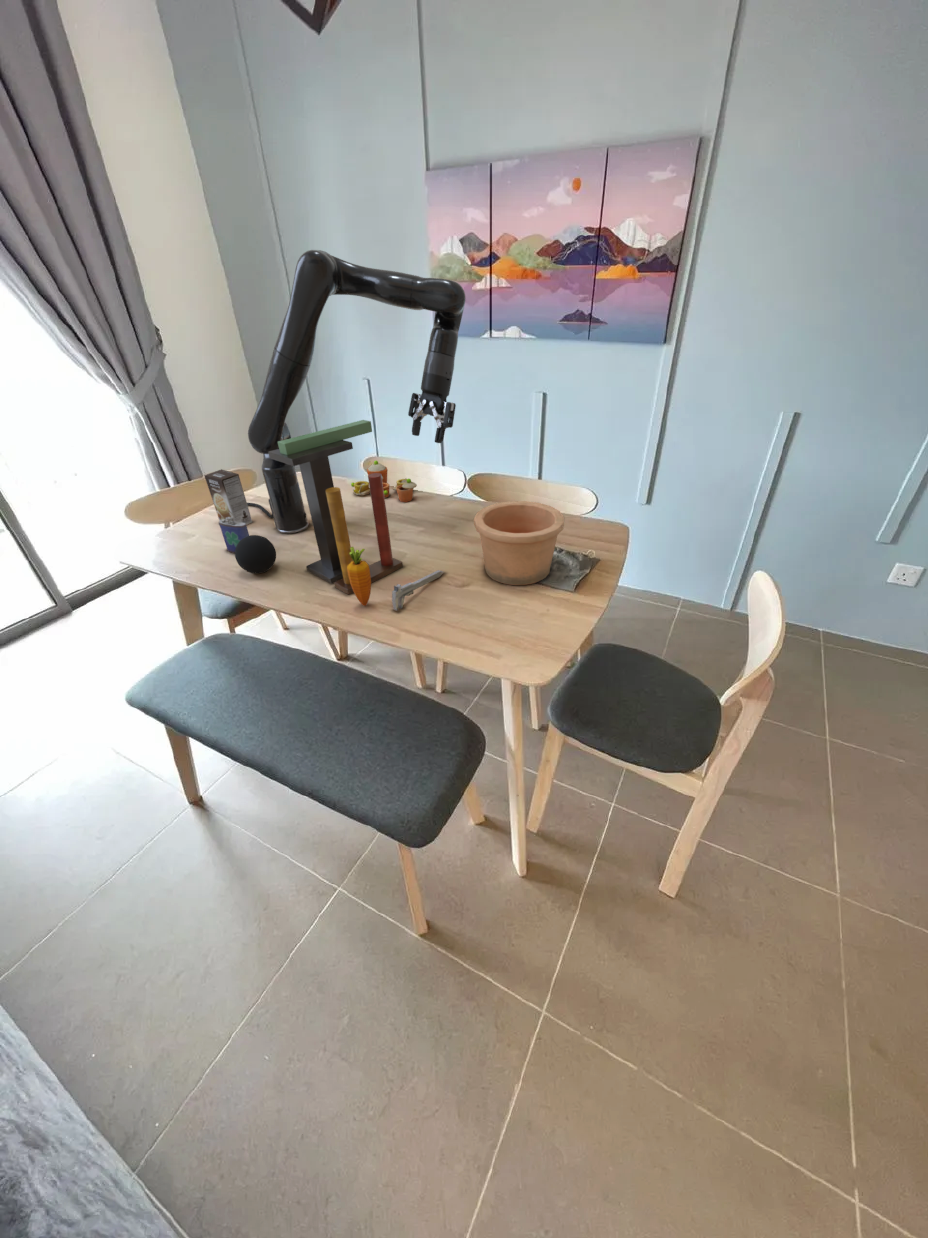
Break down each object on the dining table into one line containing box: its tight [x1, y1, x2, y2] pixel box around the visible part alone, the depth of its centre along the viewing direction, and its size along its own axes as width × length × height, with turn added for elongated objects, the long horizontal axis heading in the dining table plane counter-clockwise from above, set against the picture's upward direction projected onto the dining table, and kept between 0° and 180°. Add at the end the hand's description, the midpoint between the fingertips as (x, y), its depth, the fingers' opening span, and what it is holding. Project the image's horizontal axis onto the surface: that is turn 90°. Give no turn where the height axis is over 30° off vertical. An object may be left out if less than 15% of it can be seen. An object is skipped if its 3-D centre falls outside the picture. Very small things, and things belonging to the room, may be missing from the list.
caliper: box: [391, 569, 445, 612], centre depth 118 cm, size 20×1×6 cm, turn 150°
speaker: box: [234, 534, 277, 574], centre depth 129 cm, size 10×10×10 cm
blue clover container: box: [218, 516, 250, 554], centre depth 139 cm, size 9×3×11 cm, turn 68°
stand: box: [268, 439, 354, 585], centre depth 122 cm, size 16×11×32 cm
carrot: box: [347, 546, 372, 607], centre depth 112 cm, size 5×5×15 cm
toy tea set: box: [350, 460, 418, 503], centre depth 174 cm, size 26×16×10 cm, turn 63°
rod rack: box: [326, 473, 404, 595], centre depth 120 cm, size 18×6×25 cm, turn 138°
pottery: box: [473, 500, 565, 586], centre depth 123 cm, size 22×22×14 cm
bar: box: [278, 419, 373, 455], centre depth 115 cm, size 24×3×2 cm, turn 138°
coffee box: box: [204, 468, 253, 526], centre depth 155 cm, size 9×6×16 cm
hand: (426, 439), depth 133 cm, fingers open, 8 cm apart
